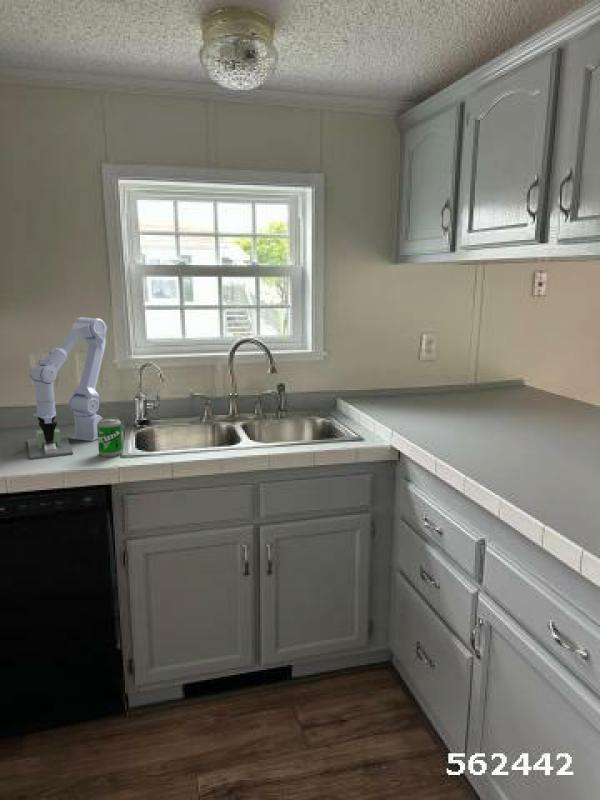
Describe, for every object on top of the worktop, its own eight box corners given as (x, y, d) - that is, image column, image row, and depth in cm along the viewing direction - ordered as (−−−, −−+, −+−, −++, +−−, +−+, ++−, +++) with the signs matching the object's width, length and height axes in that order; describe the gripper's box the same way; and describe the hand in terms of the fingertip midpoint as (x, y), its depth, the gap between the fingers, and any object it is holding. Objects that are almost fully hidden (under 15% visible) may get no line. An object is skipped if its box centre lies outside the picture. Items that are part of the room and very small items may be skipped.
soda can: (102, 450, 187) (100, 416, 184) (124, 450, 188) (123, 416, 185) (96, 457, 180) (93, 422, 177) (119, 457, 180) (117, 422, 178)
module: (59, 442, 193) (58, 426, 192) (60, 446, 189) (59, 430, 187) (37, 444, 190) (36, 428, 188) (38, 448, 185) (37, 432, 184)
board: (66, 437, 202) (66, 431, 201) (72, 454, 183) (72, 447, 182) (27, 441, 196) (26, 435, 195) (29, 459, 177) (29, 452, 176)
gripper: (31, 397, 190) (34, 435, 193) (33, 405, 178) (36, 445, 181) (53, 395, 193) (56, 432, 196) (57, 404, 181) (60, 443, 184)
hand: (48, 438), depth 189 cm, fingers open, 7 cm apart
